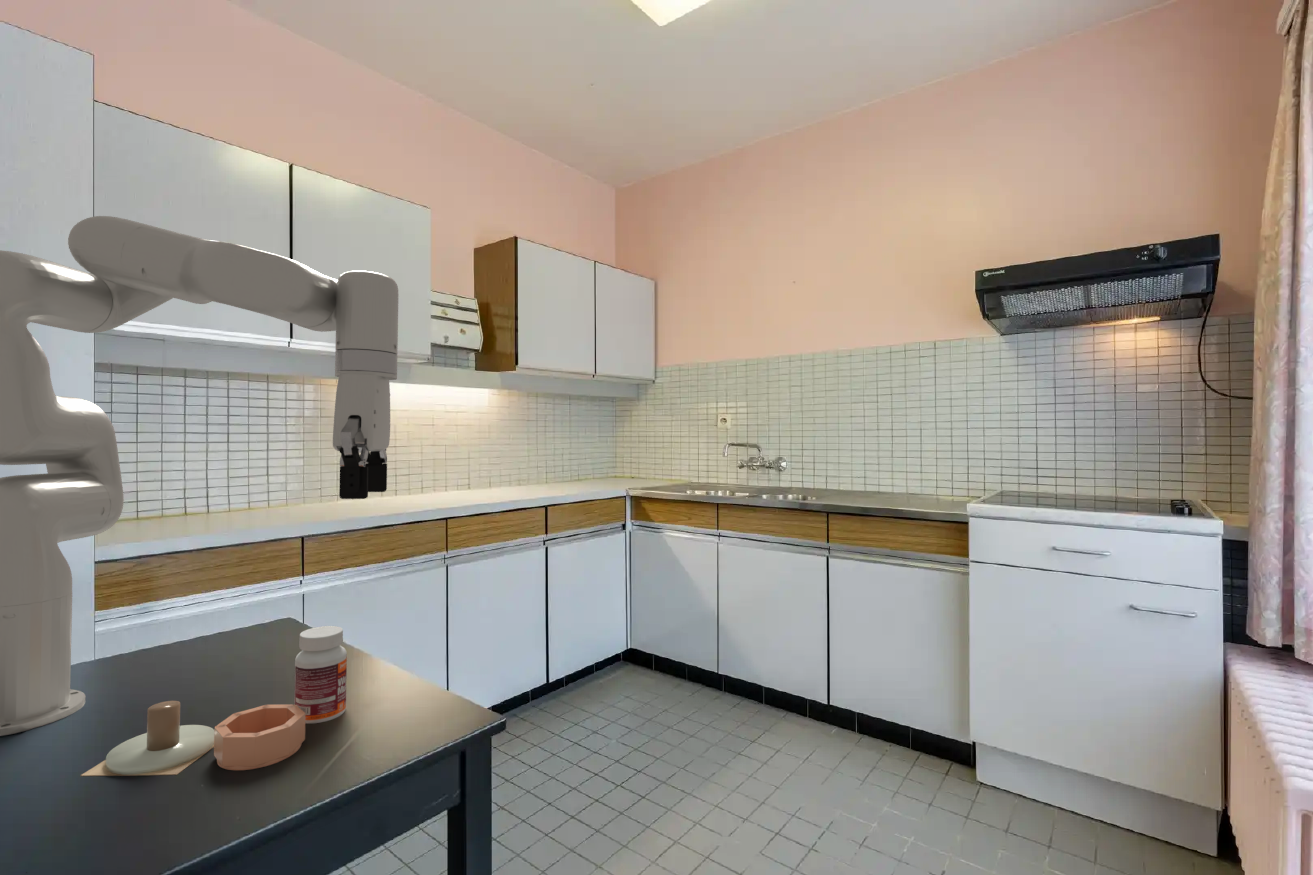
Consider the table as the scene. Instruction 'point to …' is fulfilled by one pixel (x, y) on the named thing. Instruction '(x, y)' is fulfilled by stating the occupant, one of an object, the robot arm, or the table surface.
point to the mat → (102, 771)
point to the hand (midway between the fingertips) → (364, 494)
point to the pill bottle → (321, 674)
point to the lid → (160, 743)
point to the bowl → (259, 736)
